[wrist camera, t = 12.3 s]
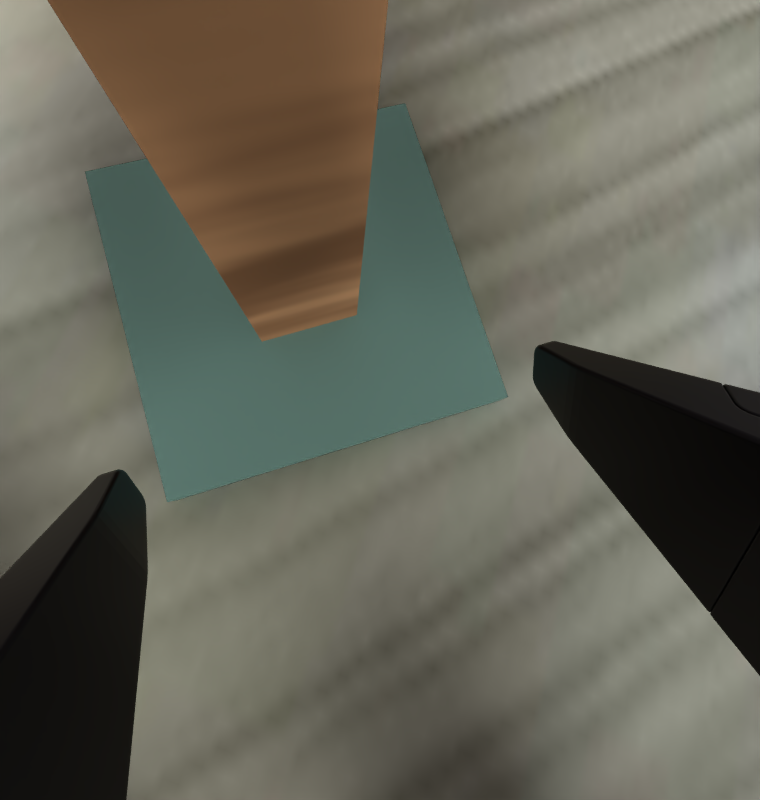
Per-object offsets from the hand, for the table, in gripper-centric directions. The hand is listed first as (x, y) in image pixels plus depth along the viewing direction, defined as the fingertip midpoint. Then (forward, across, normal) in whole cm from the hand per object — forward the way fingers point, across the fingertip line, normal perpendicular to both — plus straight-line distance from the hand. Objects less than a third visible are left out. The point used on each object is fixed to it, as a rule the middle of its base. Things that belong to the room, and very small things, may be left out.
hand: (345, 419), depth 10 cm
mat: (+11, 0, +2) cm, 12 cm away
